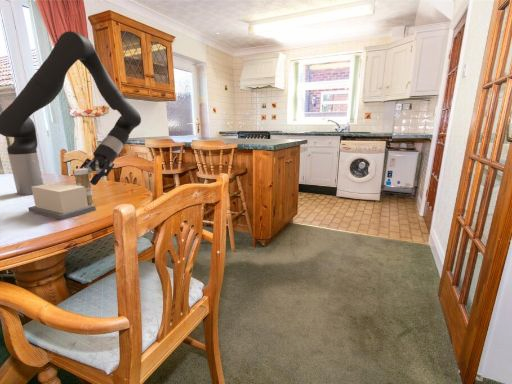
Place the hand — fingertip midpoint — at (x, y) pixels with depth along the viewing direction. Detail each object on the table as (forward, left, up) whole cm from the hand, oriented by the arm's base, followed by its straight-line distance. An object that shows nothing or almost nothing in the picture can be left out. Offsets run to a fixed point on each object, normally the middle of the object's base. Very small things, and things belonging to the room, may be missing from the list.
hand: (85, 182), depth 97 cm
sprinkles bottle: (0, -1, -8) cm, 8 cm away
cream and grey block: (+1, -10, -8) cm, 13 cm away
